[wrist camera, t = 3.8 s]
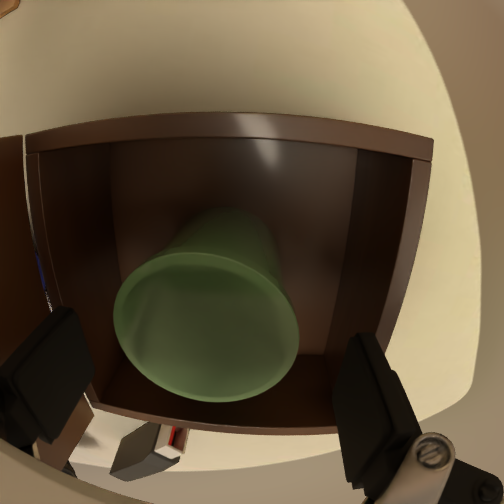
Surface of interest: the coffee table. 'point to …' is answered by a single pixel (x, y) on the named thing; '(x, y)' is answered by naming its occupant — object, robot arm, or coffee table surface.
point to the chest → (248, 199)
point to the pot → (210, 310)
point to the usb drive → (149, 451)
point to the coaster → (7, 6)
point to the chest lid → (26, 290)
